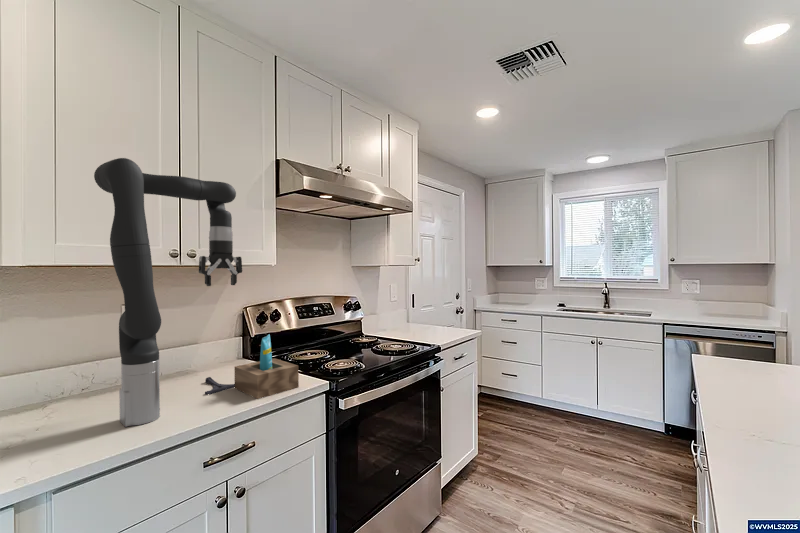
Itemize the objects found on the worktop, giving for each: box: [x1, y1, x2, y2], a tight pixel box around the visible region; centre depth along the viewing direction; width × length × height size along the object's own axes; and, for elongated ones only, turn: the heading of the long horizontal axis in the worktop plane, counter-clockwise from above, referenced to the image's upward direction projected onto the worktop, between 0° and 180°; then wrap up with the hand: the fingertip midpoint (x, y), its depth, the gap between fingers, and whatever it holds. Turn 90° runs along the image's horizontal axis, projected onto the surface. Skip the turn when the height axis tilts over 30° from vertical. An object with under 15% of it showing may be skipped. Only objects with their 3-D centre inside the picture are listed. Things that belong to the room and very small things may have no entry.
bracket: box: [204, 376, 235, 396], centre depth 142 cm, size 14×15×3 cm
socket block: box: [234, 357, 300, 400], centre depth 139 cm, size 16×17×8 cm
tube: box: [259, 333, 273, 371], centre depth 139 cm, size 7×5×19 cm, turn 5°
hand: (221, 285), depth 135 cm, fingers open, 8 cm apart
